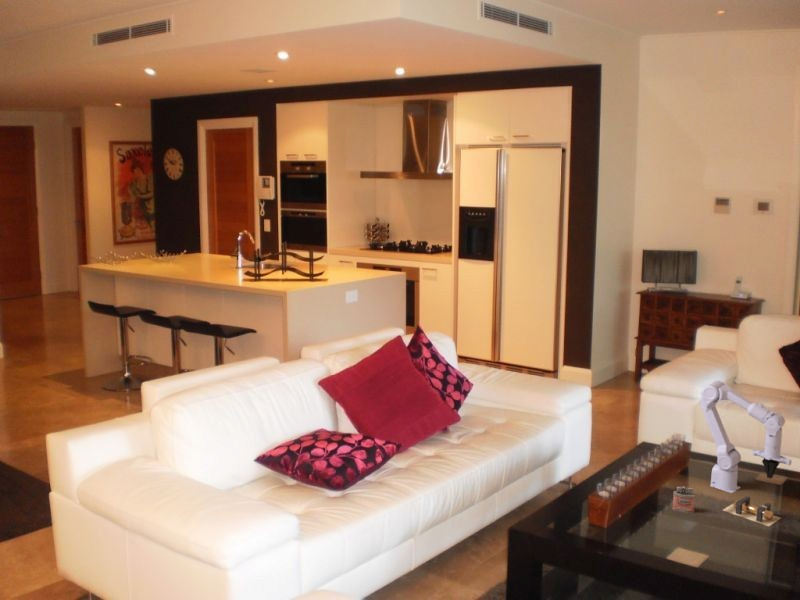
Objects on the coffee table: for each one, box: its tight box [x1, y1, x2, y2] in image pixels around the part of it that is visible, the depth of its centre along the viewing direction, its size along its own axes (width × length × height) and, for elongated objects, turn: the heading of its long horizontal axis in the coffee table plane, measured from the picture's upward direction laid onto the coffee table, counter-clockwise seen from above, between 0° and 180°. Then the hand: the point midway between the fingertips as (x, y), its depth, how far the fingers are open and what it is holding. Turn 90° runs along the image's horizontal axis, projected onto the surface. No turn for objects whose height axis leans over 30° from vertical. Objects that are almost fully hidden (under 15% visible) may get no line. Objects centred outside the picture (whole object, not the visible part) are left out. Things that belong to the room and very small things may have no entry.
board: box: [722, 495, 781, 527], centre depth 317 cm, size 18×10×5 cm, turn 42°
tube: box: [733, 499, 774, 520], centre depth 317 cm, size 14×3×3 cm, turn 42°
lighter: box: [672, 486, 696, 514], centre depth 320 cm, size 8×3×10 cm, turn 68°
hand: (769, 477), depth 329 cm, fingers closed
